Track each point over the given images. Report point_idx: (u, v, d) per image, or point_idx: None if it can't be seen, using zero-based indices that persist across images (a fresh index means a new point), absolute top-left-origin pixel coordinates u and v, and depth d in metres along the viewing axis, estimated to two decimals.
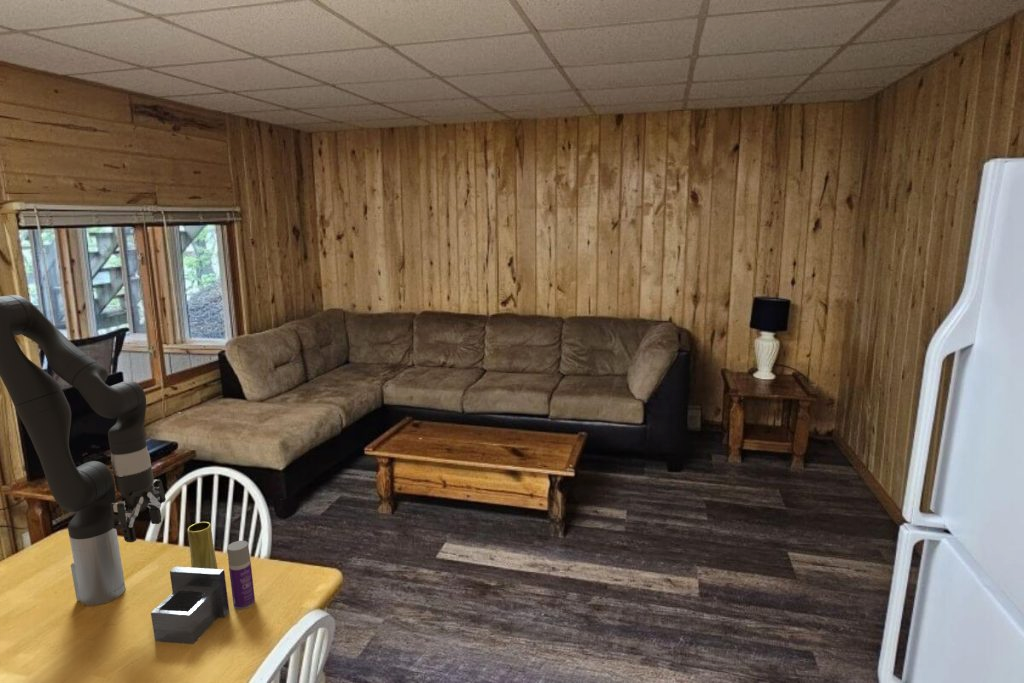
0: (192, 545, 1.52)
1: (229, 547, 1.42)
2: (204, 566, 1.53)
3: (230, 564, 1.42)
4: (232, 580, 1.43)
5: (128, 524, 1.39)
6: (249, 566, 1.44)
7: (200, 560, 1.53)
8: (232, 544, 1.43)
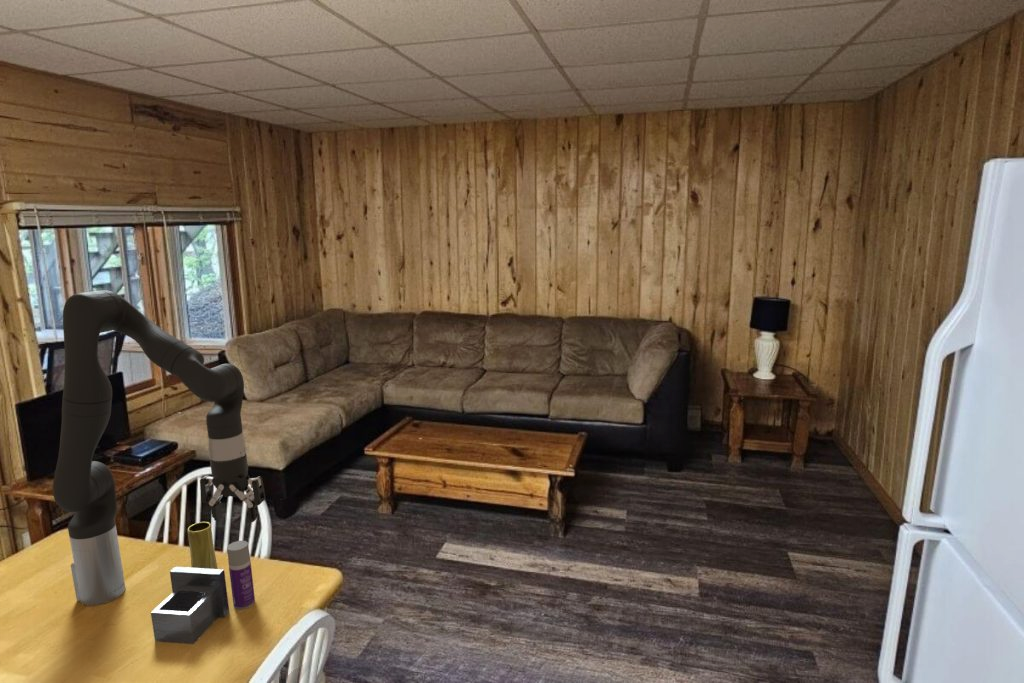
0: (192, 545, 1.52)
1: (229, 547, 1.42)
2: (204, 566, 1.53)
3: (230, 564, 1.42)
4: (232, 580, 1.43)
5: None
6: (249, 566, 1.44)
7: (200, 560, 1.53)
8: (232, 544, 1.43)
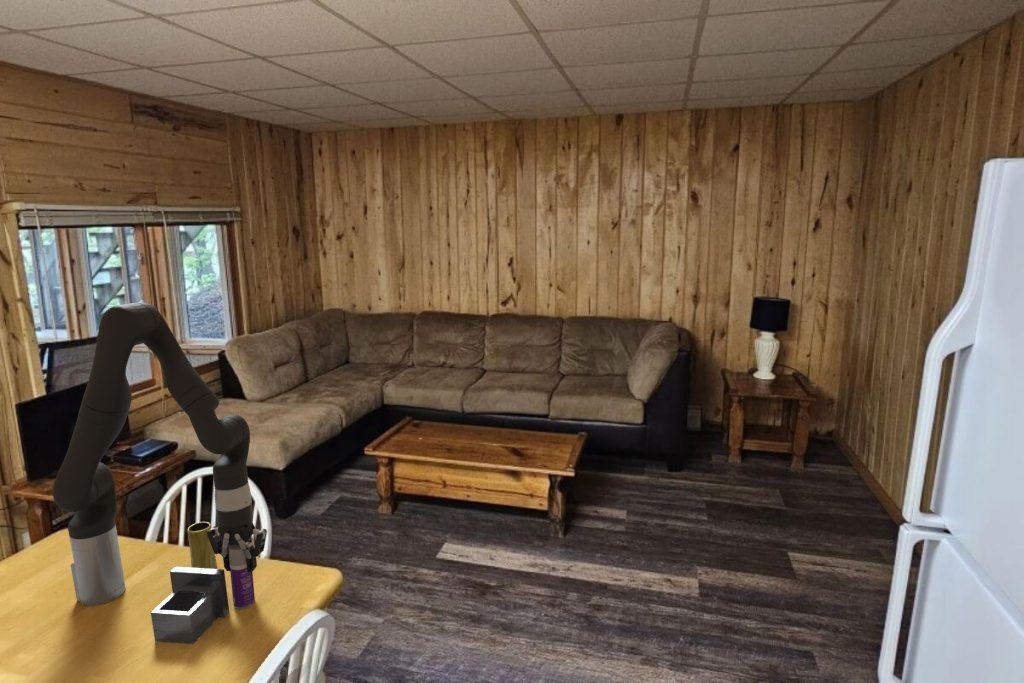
0: (192, 545, 1.52)
1: (230, 547, 1.42)
2: (204, 566, 1.53)
3: (231, 564, 1.42)
4: (233, 580, 1.43)
5: None
6: None
7: (200, 560, 1.53)
8: None
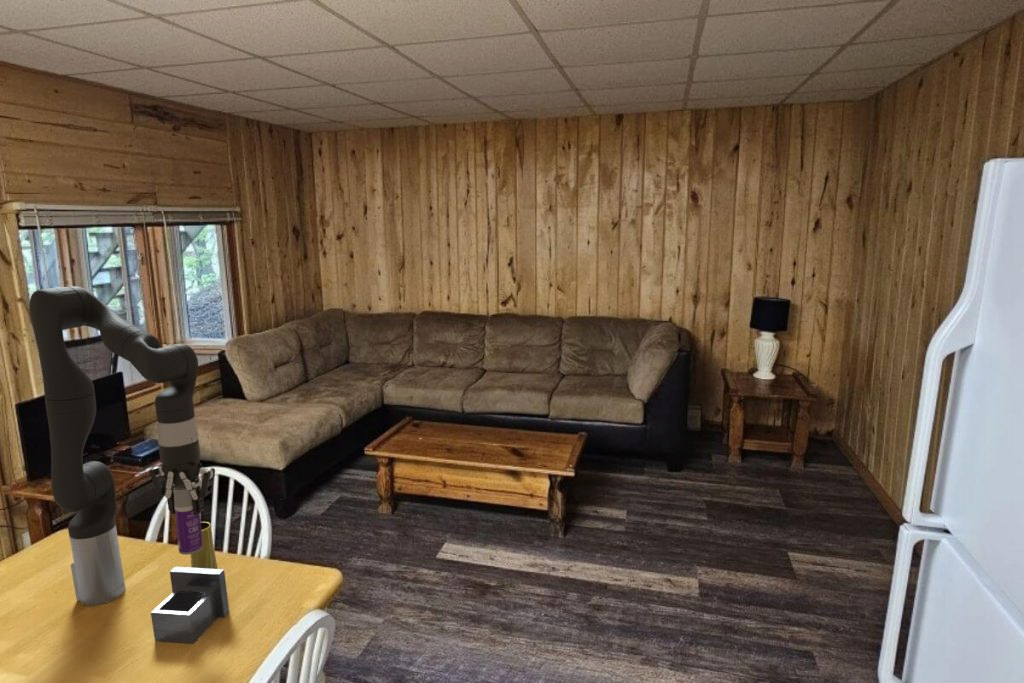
0: None
1: (175, 487, 1.32)
2: (204, 566, 1.53)
3: (176, 505, 1.32)
4: (178, 523, 1.32)
5: None
6: None
7: (200, 560, 1.53)
8: (179, 484, 1.33)
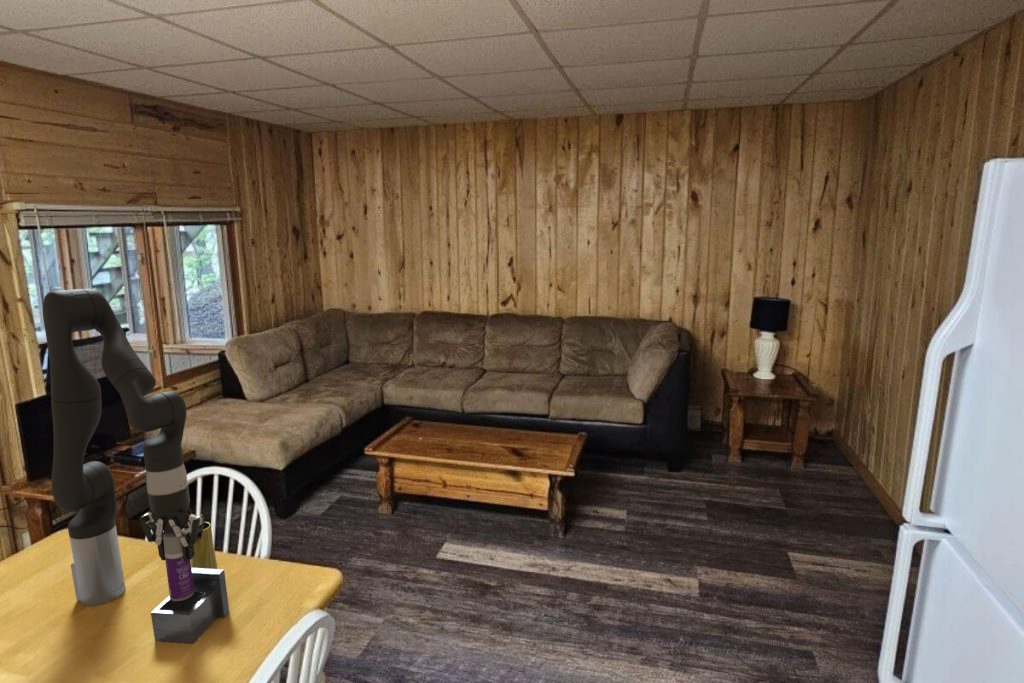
0: None
1: (165, 534, 1.32)
2: (204, 566, 1.53)
3: (166, 552, 1.31)
4: (168, 569, 1.32)
5: None
6: None
7: (200, 560, 1.53)
8: (169, 531, 1.33)
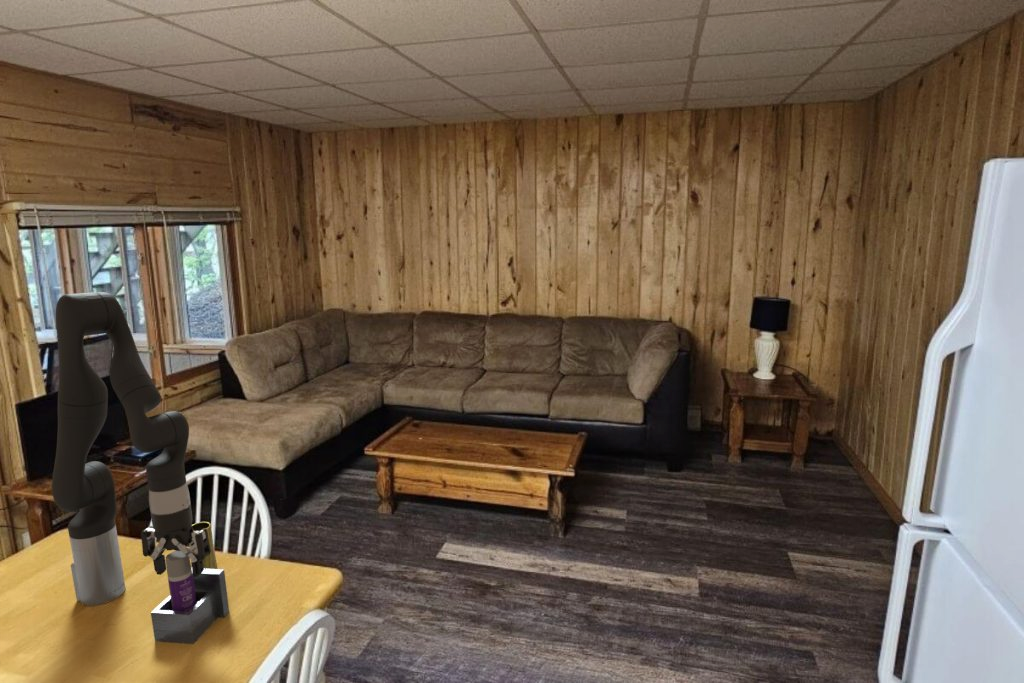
0: None
1: (168, 557, 1.33)
2: (204, 566, 1.53)
3: (169, 575, 1.32)
4: (171, 592, 1.33)
5: None
6: (190, 577, 1.34)
7: None
8: (171, 554, 1.34)
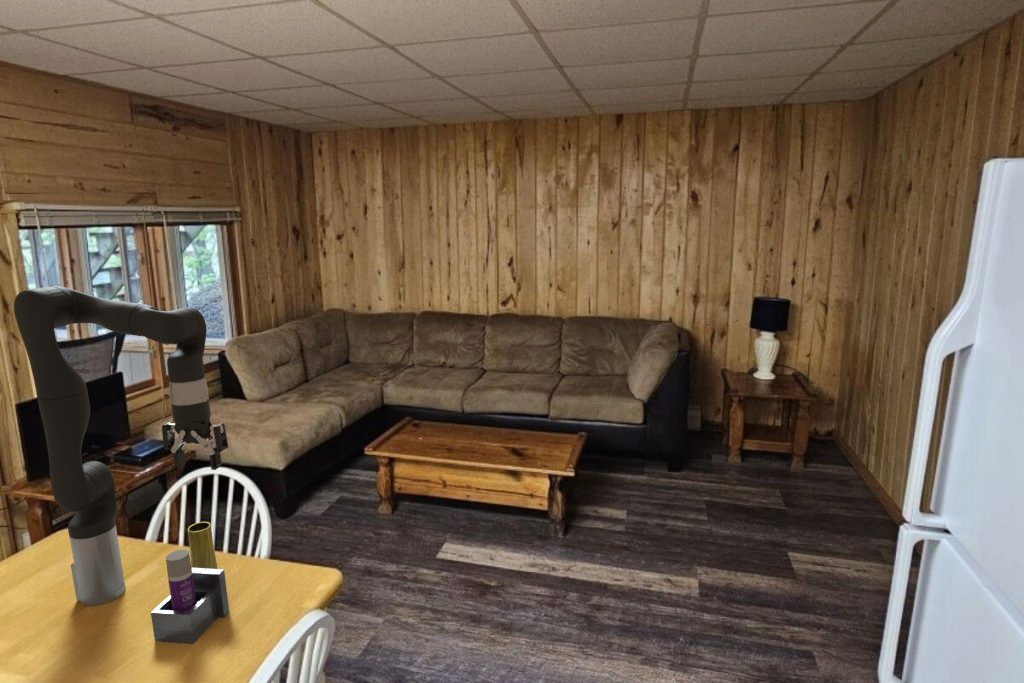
0: (192, 545, 1.52)
1: (168, 557, 1.33)
2: (204, 566, 1.53)
3: (169, 575, 1.32)
4: (171, 592, 1.33)
5: None
6: (190, 577, 1.34)
7: (200, 560, 1.53)
8: (172, 554, 1.34)
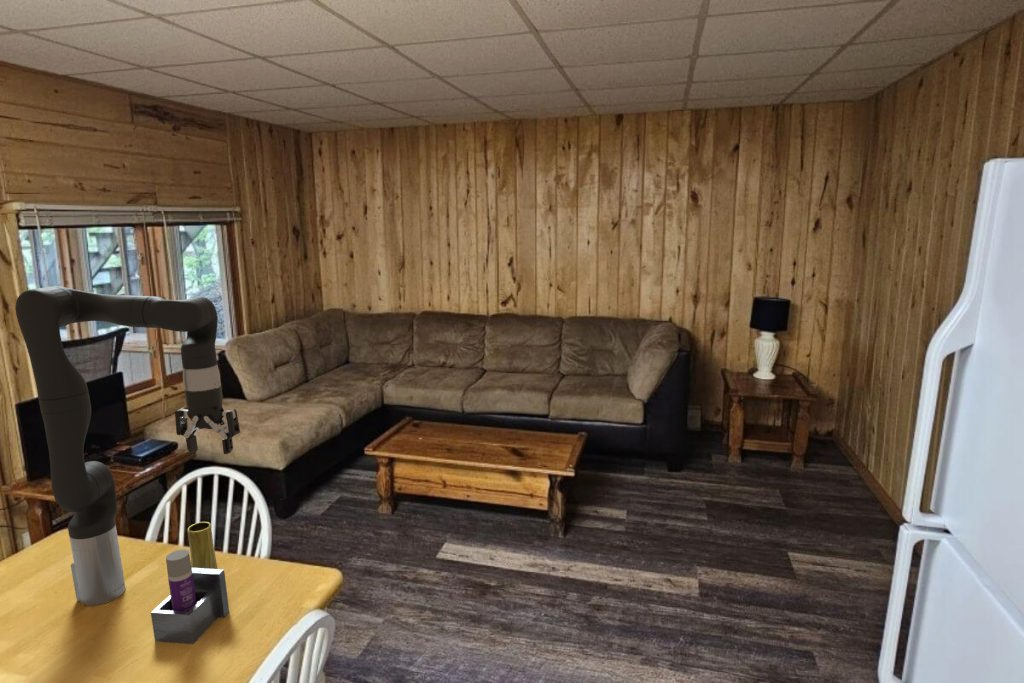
0: (192, 545, 1.52)
1: (168, 557, 1.33)
2: (204, 566, 1.53)
3: (169, 575, 1.32)
4: (171, 592, 1.33)
5: None
6: (190, 577, 1.34)
7: (200, 560, 1.53)
8: (172, 553, 1.34)
